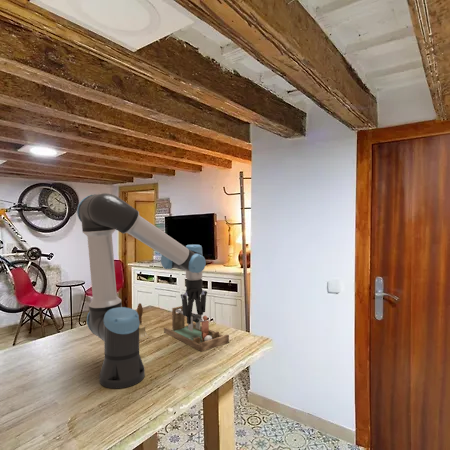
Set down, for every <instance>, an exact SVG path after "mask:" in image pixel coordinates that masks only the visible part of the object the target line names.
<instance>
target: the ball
mask: <svg viewBox="0 0 450 450" xmlns="http://www.w3.org/2000/svg"><path fill="white" fill-rule="evenodd" d="M211 339H212V337H211V336H210V335H207V336H206V337H205V339H204V341H208V340H211Z"/></svg>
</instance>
